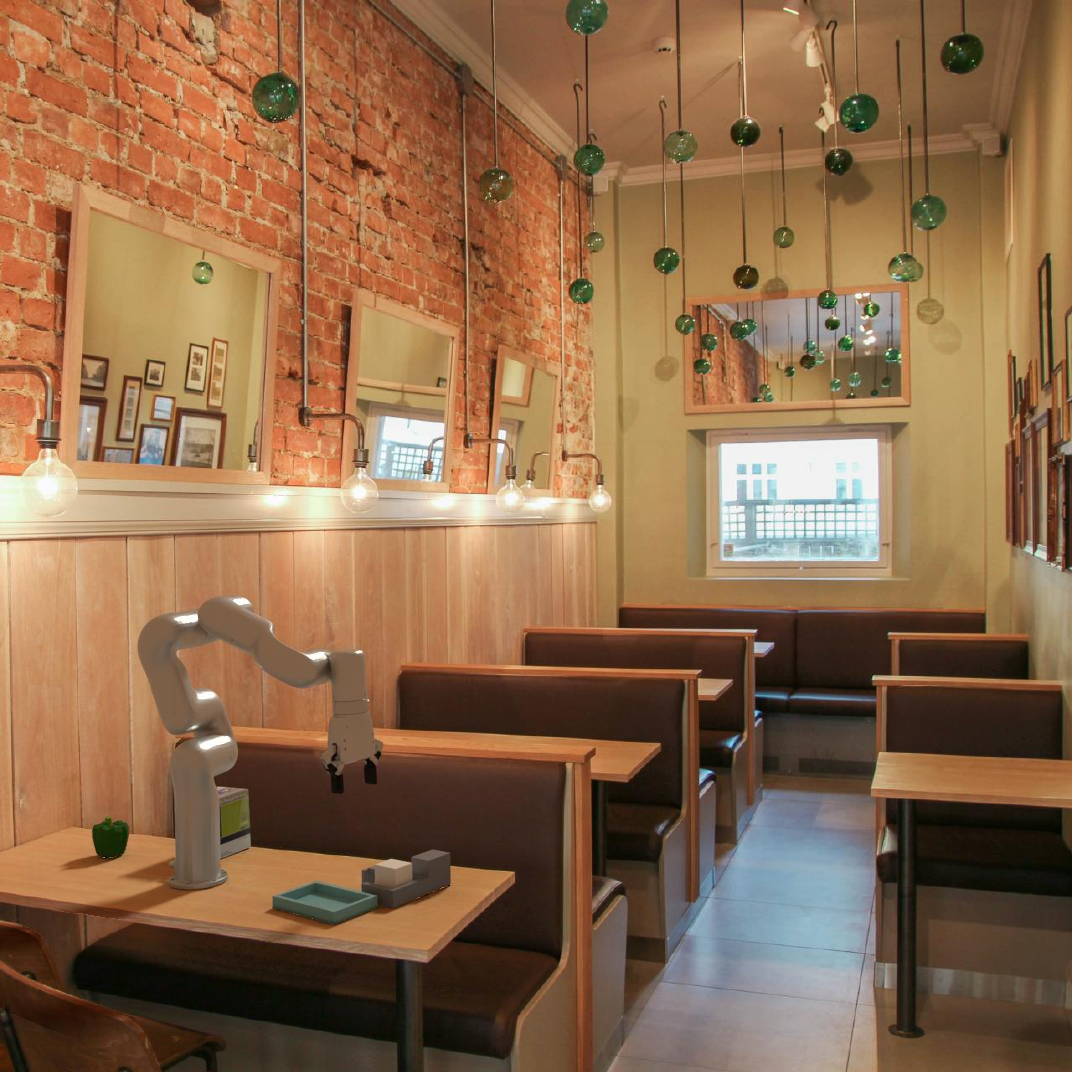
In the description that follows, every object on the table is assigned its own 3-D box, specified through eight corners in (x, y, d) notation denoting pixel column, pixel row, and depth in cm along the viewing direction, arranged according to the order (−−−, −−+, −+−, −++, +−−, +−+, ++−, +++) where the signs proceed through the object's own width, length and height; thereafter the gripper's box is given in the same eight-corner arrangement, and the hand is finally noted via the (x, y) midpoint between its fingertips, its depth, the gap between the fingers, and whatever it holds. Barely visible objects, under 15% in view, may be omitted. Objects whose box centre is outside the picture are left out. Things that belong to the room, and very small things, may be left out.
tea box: (220, 844, 277) (219, 784, 277) (251, 848, 273) (250, 788, 273) (175, 860, 264) (175, 797, 264) (208, 865, 259) (207, 801, 259)
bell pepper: (107, 850, 273) (106, 809, 273) (135, 852, 270) (135, 811, 270) (84, 860, 265) (83, 818, 265) (113, 862, 262) (112, 820, 262)
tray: (272, 908, 228) (272, 896, 228) (316, 892, 237) (316, 880, 237) (334, 924, 217) (334, 912, 217) (377, 907, 227) (377, 895, 227)
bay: (361, 900, 231) (361, 866, 231) (419, 878, 246) (419, 846, 246) (393, 908, 226) (392, 873, 226) (450, 885, 241) (450, 852, 241)
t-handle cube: (360, 894, 236) (359, 861, 236) (376, 887, 240) (376, 855, 240) (396, 902, 230) (395, 869, 230) (412, 896, 234) (412, 863, 234)
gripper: (367, 701, 246) (371, 779, 246) (307, 713, 232) (311, 795, 232) (391, 702, 241) (395, 781, 241) (332, 714, 228) (336, 798, 227)
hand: (354, 788), depth 236 cm, fingers open, 9 cm apart
